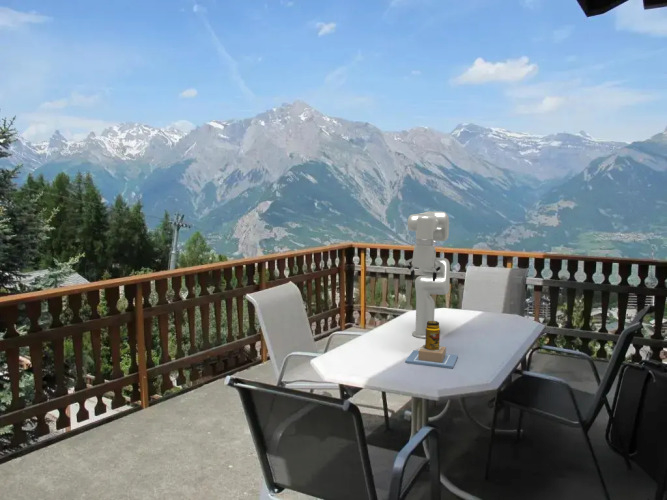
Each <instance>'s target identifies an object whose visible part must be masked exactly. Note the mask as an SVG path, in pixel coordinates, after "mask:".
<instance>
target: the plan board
mask: <svg viewBox="0 0 667 500" xmlns="http://www.w3.org/2000/svg"><path fill="white" fill-rule="evenodd" d="M439 347H442V348H441V349H440V350H439V351H430V350H425V349H418V350H416V349H413V350H412V352H411V353H410V354H409V355H408V357H407V358H406V359H405V361H404V363H405V364H410V365H418V366H426V367H427V366H428V367H434V368H443V369H450V368H452V369H454V367H455V365H456V363H457V360H458V358H459V354H452V353H446V351H447V347H446V346H441V345H439ZM455 362H456V363H455ZM452 369H451V370H452Z"/></svg>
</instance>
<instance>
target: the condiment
mask: <svg viewBox="0 0 667 500" xmlns="http://www.w3.org/2000/svg"><path fill="white" fill-rule="evenodd" d="M440 331H441V328H440V322H439V321H436V320H434V321H428V322H427V327H426V338H424V341H425V343H424V344H423V345H422V346H420V347H418V350H420V349H425V350H430V351H439V350H440V349H441V348H442V347H443V346H441V347H439V346H440V340H441V339H440V336H441V335H440V334H441V332H440Z"/></svg>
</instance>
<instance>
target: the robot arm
mask: <svg viewBox="0 0 667 500" xmlns="http://www.w3.org/2000/svg"><path fill="white" fill-rule="evenodd" d="M407 218H408V219H407V222H406V223H407V229H408V230H409V231H410V232H415V238H416V240H415V245H414V247H413V251H412V252H413V254H412V258H409V259H408V260H406V261H405V262H404V263H405V265H406V267H407V268H408V270H409V271H410V278H411V280H412V281H414V280H415V281H414V288H415V297H416V298H415V331H412V333H411V334H412V336H413V337H415V338H420V339H426V327H427V322H428V321H435V309H436V307H435V306H436V304H435V300H434V298H433V297H432V296H431V295H443V296H444V295H447V294H448V293H449V292H450V277H451V276H450V275H451V273H450V271H451V269H450V267H451V265H450V264H451V263H450V261H449V259H447V258H445V257H437V255H436V254H437V250H436V248H435V245H436V244H437V242H445V241H447V240H448V239H449V237H450V235H449V234H450V233H449V232H450V217H449V215H448V214H447V213H446V211H425V212H422V213H416V214H415V213H413V214H410V215H409V216H408V217H407ZM411 262H412V264H410V263H411ZM416 268H417V269H418V271H419V273H420V274H421V275H419V276H417V277H415V275H416V274H415V273H416V271H415V269H416Z"/></svg>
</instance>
